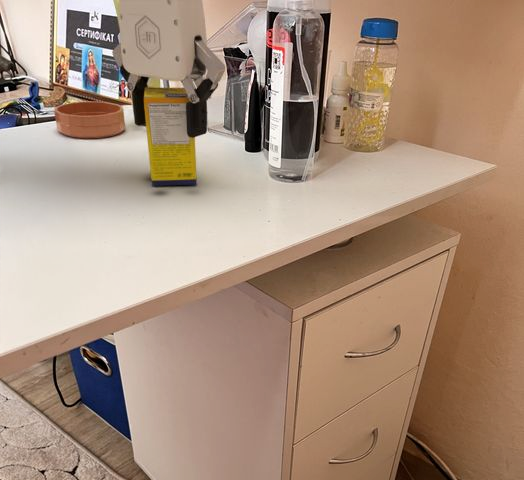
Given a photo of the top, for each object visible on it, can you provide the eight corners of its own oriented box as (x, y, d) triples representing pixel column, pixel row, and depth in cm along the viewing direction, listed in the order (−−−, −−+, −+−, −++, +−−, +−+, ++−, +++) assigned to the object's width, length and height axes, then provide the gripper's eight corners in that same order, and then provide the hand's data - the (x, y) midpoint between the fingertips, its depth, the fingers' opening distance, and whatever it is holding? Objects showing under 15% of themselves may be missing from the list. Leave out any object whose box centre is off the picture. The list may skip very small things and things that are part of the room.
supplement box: (194, 171, 75) (190, 86, 69) (197, 186, 70) (193, 96, 64) (151, 172, 74) (143, 86, 68) (151, 187, 69) (143, 95, 63)
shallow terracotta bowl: (46, 136, 87) (41, 113, 85) (75, 120, 95) (72, 99, 93) (110, 141, 86) (107, 118, 83) (134, 125, 94) (132, 104, 92)
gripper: (77, -42, 59) (100, 123, 70) (200, -37, 52) (206, 148, 62) (126, -40, 64) (141, 113, 75) (244, -35, 57) (242, 135, 67)
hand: (170, 128), depth 68 cm, fingers closed on supplement box, 8 cm apart
